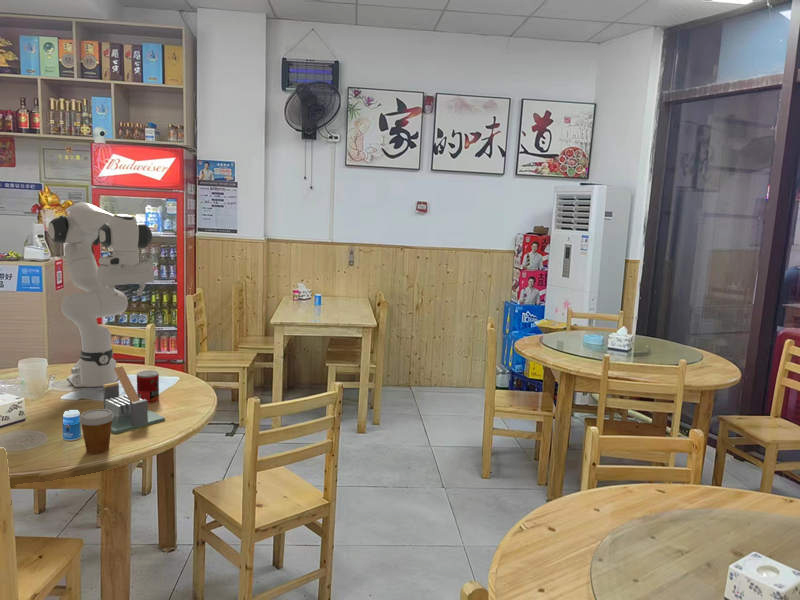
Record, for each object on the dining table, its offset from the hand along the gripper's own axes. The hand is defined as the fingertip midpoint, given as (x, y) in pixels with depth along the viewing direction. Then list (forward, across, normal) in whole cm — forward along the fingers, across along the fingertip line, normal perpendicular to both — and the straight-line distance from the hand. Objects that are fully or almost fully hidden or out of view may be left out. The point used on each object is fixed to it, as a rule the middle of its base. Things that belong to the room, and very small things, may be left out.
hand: (127, 296), depth 218 cm
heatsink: (+43, +8, +11) cm, 45 cm away
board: (+43, +8, +10) cm, 44 cm away
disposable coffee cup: (+43, +27, +30) cm, 60 cm away
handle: (+31, +8, +13) cm, 34 cm away
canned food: (+42, -8, -2) cm, 43 cm away
